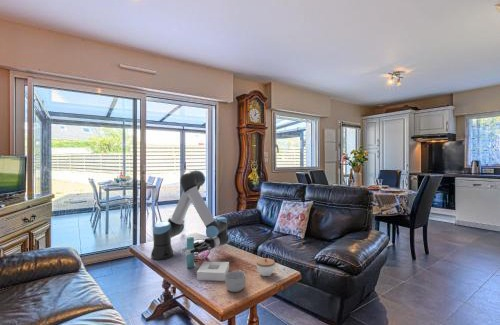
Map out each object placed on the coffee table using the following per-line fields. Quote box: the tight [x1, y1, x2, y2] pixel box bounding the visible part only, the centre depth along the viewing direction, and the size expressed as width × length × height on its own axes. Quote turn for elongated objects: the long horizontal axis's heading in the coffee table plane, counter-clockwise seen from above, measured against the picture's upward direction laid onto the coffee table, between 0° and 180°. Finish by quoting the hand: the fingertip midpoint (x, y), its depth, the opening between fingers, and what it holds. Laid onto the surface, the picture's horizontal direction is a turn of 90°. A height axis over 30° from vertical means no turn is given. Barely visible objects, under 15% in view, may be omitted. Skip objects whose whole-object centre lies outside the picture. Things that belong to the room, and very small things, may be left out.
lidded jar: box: [256, 257, 276, 277], centre depth 161 cm, size 11×11×9 cm
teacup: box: [224, 269, 246, 293], centre depth 145 cm, size 14×11×8 cm
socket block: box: [196, 260, 230, 282], centre depth 162 cm, size 16×16×4 cm
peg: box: [186, 236, 195, 269], centre depth 172 cm, size 4×4×18 cm
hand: (183, 252), depth 168 cm, fingers closed on peg, 4 cm apart
